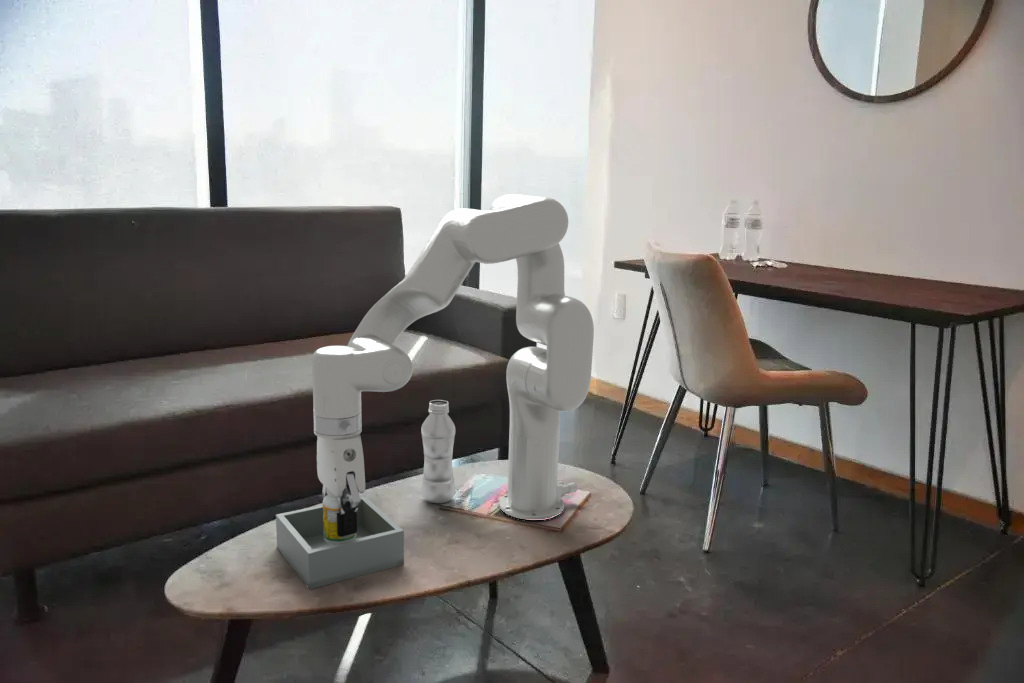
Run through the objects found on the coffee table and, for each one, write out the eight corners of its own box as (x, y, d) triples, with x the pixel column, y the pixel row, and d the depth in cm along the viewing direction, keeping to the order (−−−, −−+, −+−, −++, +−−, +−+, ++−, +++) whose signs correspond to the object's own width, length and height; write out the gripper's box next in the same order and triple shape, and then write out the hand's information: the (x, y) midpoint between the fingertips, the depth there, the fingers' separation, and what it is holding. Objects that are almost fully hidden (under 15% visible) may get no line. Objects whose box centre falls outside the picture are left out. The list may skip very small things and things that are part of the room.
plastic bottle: (450, 509, 155) (451, 408, 151) (416, 505, 156) (416, 405, 152) (459, 495, 161) (460, 399, 157) (426, 492, 162) (427, 396, 158)
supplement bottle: (350, 547, 132) (349, 492, 130) (318, 544, 133) (317, 489, 130) (360, 532, 137) (359, 479, 135) (330, 530, 138) (328, 477, 136)
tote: (365, 527, 146) (364, 495, 145) (403, 564, 133) (403, 530, 132) (277, 547, 138) (275, 514, 136) (309, 589, 125) (308, 553, 123)
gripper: (381, 434, 126) (382, 542, 129) (340, 405, 139) (342, 503, 143) (335, 442, 121) (337, 553, 125) (297, 412, 135) (300, 512, 139)
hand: (340, 525), depth 134 cm, fingers closed on supplement bottle, 5 cm apart
